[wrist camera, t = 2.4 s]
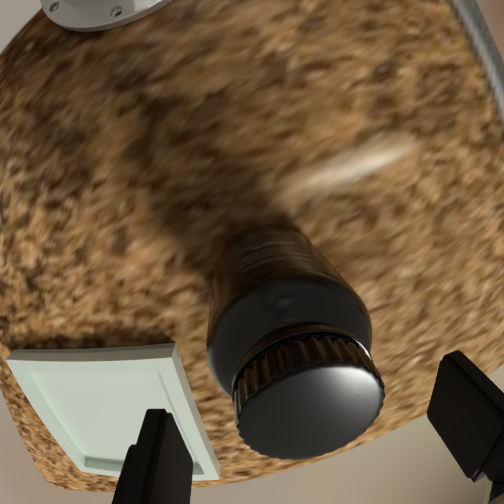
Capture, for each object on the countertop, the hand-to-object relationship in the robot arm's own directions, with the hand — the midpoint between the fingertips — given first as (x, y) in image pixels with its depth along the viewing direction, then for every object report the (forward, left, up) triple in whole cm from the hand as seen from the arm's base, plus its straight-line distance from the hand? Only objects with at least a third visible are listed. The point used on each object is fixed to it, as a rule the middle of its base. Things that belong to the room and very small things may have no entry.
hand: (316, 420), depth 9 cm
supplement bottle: (-1, 0, -12) cm, 12 cm away
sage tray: (+11, -15, -11) cm, 22 cm away
